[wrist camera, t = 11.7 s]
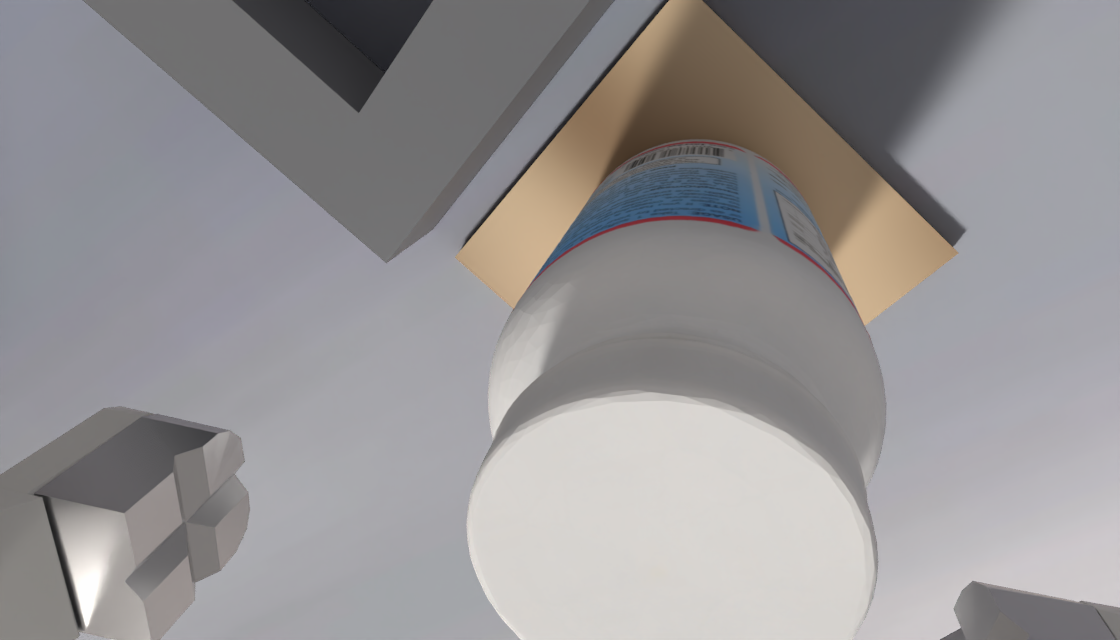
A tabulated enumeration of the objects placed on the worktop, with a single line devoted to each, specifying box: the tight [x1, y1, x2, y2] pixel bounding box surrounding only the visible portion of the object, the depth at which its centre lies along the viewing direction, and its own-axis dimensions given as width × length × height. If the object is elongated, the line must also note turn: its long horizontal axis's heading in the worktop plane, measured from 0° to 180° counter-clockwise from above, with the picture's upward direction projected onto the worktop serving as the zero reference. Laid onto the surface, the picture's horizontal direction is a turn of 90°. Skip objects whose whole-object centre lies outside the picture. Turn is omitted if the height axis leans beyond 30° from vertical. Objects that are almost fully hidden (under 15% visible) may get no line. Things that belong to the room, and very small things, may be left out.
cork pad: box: [455, 0, 958, 326], centre depth 18 cm, size 9×9×1 cm
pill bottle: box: [467, 139, 886, 640], centre depth 13 cm, size 6×6×11 cm
